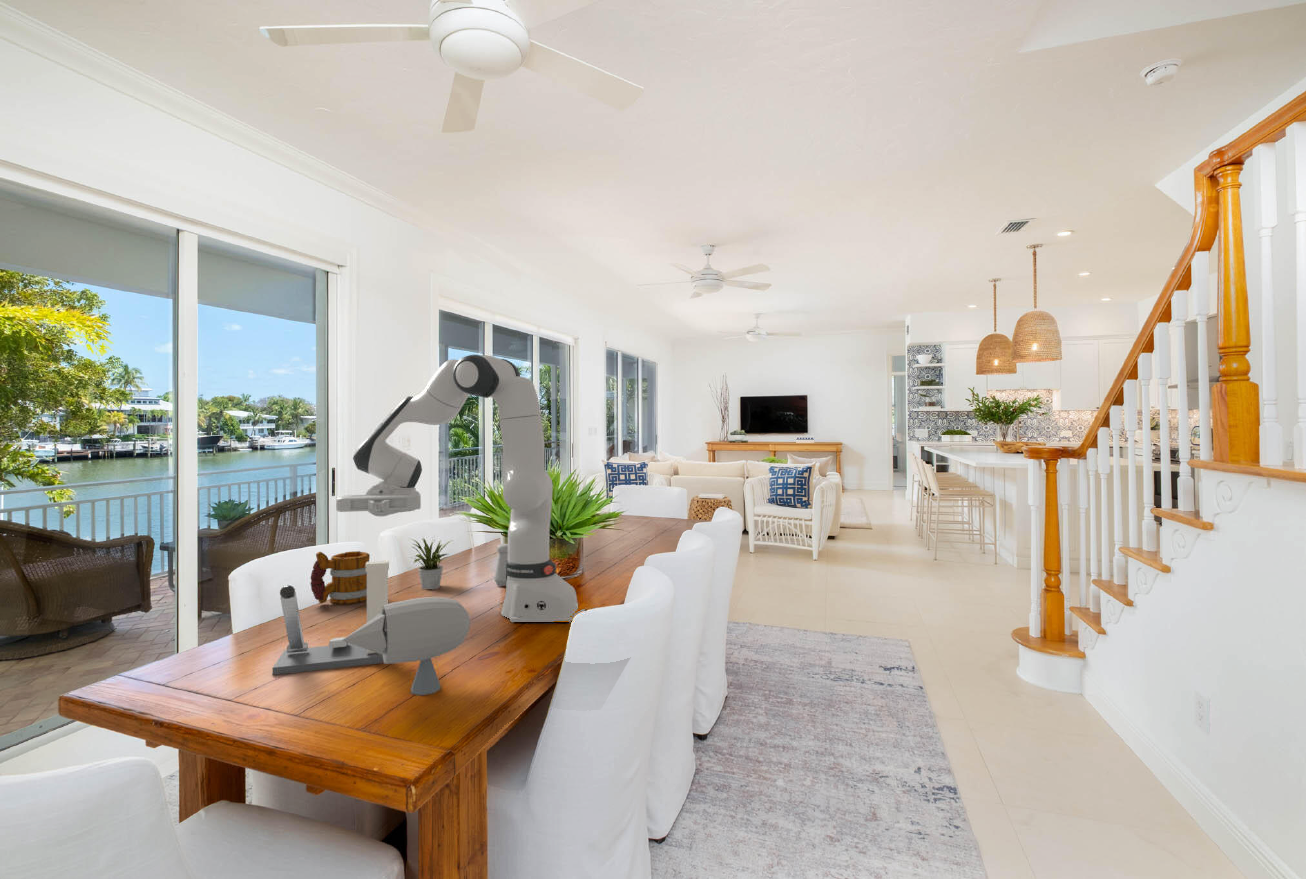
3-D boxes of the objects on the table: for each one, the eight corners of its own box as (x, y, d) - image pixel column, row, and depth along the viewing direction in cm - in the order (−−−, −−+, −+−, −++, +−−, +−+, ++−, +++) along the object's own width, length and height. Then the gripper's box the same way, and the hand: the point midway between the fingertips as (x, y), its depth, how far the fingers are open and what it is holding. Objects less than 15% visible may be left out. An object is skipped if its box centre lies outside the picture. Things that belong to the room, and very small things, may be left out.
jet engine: (376, 673, 122) (377, 588, 121) (475, 674, 122) (476, 589, 122) (339, 707, 107) (339, 610, 107) (451, 708, 107) (452, 611, 107)
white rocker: (332, 644, 133) (332, 638, 133) (349, 643, 134) (349, 636, 134) (328, 648, 128) (328, 641, 128) (346, 646, 129) (346, 639, 129)
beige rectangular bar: (366, 650, 129) (366, 561, 129) (388, 648, 131) (389, 560, 131) (365, 654, 127) (365, 564, 127) (387, 651, 129) (388, 562, 128)
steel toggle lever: (289, 646, 129) (277, 583, 119) (308, 644, 130) (298, 581, 120) (287, 656, 127) (274, 592, 117) (306, 654, 128) (295, 591, 118)
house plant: (391, 592, 180) (391, 538, 180) (417, 580, 194) (417, 530, 194) (435, 595, 178) (435, 540, 178) (458, 583, 192) (458, 532, 191)
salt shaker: (508, 588, 187) (508, 546, 186) (490, 587, 188) (491, 545, 187) (515, 583, 192) (516, 543, 192) (499, 582, 193) (499, 542, 193)
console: (284, 656, 130) (284, 649, 130) (395, 645, 137) (395, 639, 137) (272, 674, 121) (272, 667, 121) (391, 661, 128) (391, 654, 128)
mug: (379, 598, 174) (379, 547, 174) (318, 611, 161) (318, 556, 161) (362, 591, 181) (362, 542, 181) (302, 603, 168) (302, 550, 168)
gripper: (339, 489, 161) (331, 495, 148) (421, 487, 168) (420, 492, 155) (339, 512, 161) (331, 520, 148) (421, 509, 168) (420, 516, 155)
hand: (377, 506), depth 152 cm, fingers closed
